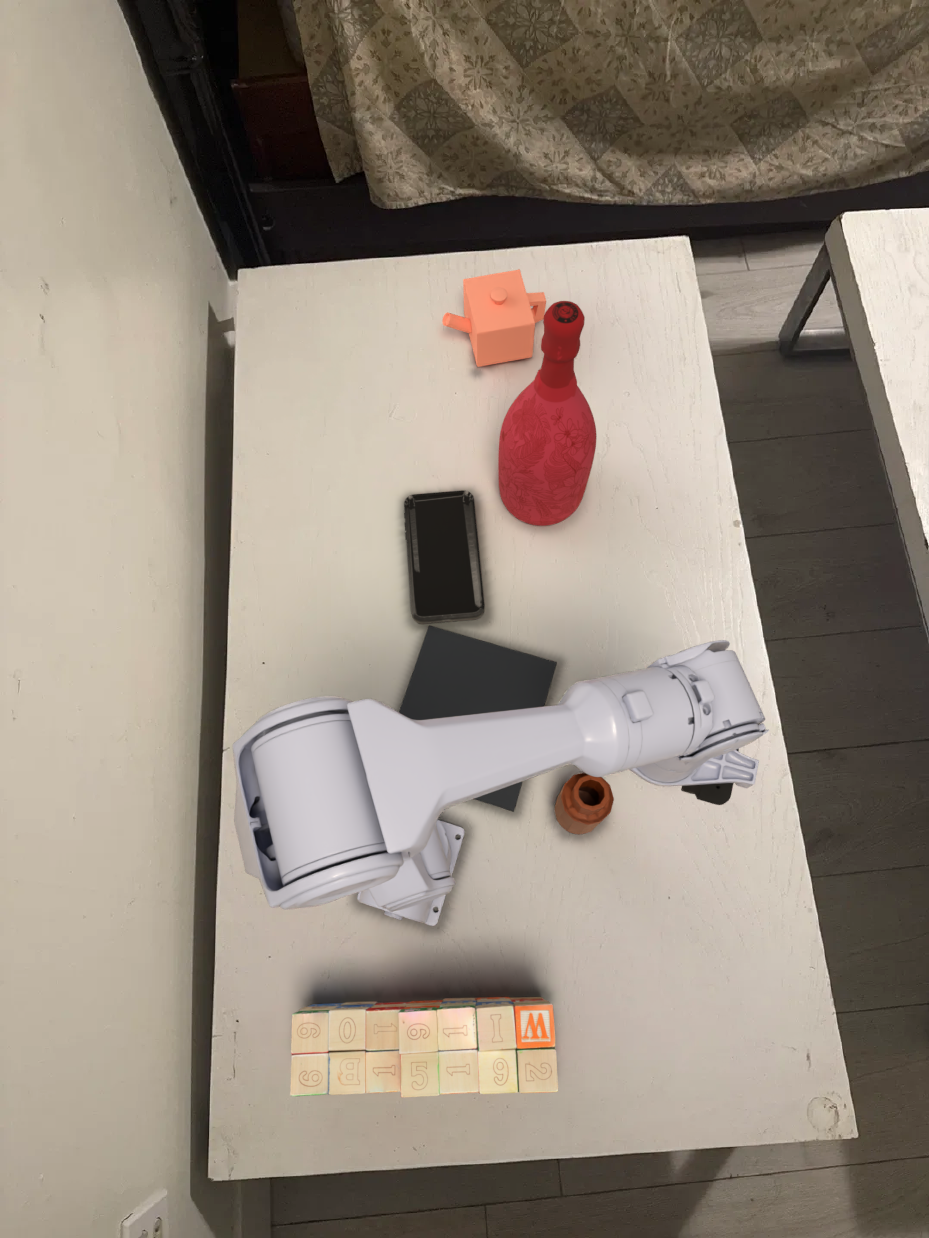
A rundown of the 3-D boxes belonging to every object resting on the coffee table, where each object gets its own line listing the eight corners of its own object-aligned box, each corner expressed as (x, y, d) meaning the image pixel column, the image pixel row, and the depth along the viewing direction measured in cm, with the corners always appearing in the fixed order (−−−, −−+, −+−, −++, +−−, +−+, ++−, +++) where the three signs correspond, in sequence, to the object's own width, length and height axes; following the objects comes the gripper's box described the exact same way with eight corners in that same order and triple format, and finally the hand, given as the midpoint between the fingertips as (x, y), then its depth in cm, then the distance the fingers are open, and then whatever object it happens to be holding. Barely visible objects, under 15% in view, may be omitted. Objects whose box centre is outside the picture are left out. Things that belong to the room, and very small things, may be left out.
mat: (513, 811, 86) (514, 811, 85) (379, 770, 88) (379, 769, 87) (556, 663, 91) (556, 662, 91) (429, 626, 93) (429, 625, 92)
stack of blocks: (309, 1079, 78) (279, 1103, 66) (311, 1002, 80) (283, 1013, 69) (548, 1070, 78) (560, 1093, 66) (543, 994, 80) (554, 1003, 69)
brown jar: (594, 840, 85) (610, 826, 75) (549, 826, 85) (558, 810, 75) (606, 794, 86) (623, 775, 76) (561, 781, 87) (572, 759, 77)
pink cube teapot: (438, 324, 106) (434, 276, 99) (534, 307, 107) (538, 258, 99) (450, 377, 104) (448, 331, 96) (548, 359, 104) (554, 312, 97)
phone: (473, 489, 97) (485, 615, 92) (473, 494, 98) (485, 618, 93) (402, 495, 97) (410, 621, 92) (403, 500, 98) (411, 625, 93)
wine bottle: (585, 531, 96) (629, 363, 68) (496, 530, 97) (503, 362, 68) (583, 454, 100) (624, 263, 72) (497, 453, 100) (504, 262, 72)
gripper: (784, 709, 65) (734, 747, 77) (593, 657, 66) (575, 702, 79) (767, 802, 62) (719, 825, 75) (570, 745, 64) (555, 777, 77)
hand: (644, 767), depth 77 cm, fingers open, 7 cm apart
